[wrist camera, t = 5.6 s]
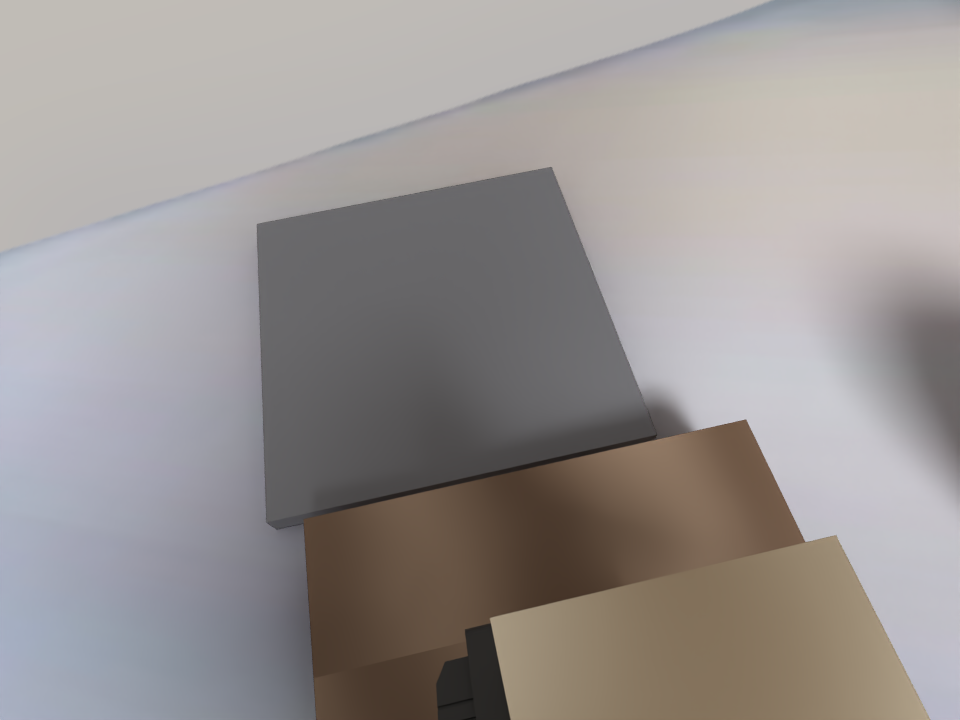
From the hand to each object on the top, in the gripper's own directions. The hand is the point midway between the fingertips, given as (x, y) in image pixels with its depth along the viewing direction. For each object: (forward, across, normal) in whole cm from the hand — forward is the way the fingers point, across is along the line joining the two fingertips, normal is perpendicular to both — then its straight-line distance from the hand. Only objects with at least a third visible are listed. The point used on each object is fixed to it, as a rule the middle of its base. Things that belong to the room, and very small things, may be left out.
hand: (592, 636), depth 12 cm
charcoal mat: (+14, +2, -4) cm, 15 cm away
